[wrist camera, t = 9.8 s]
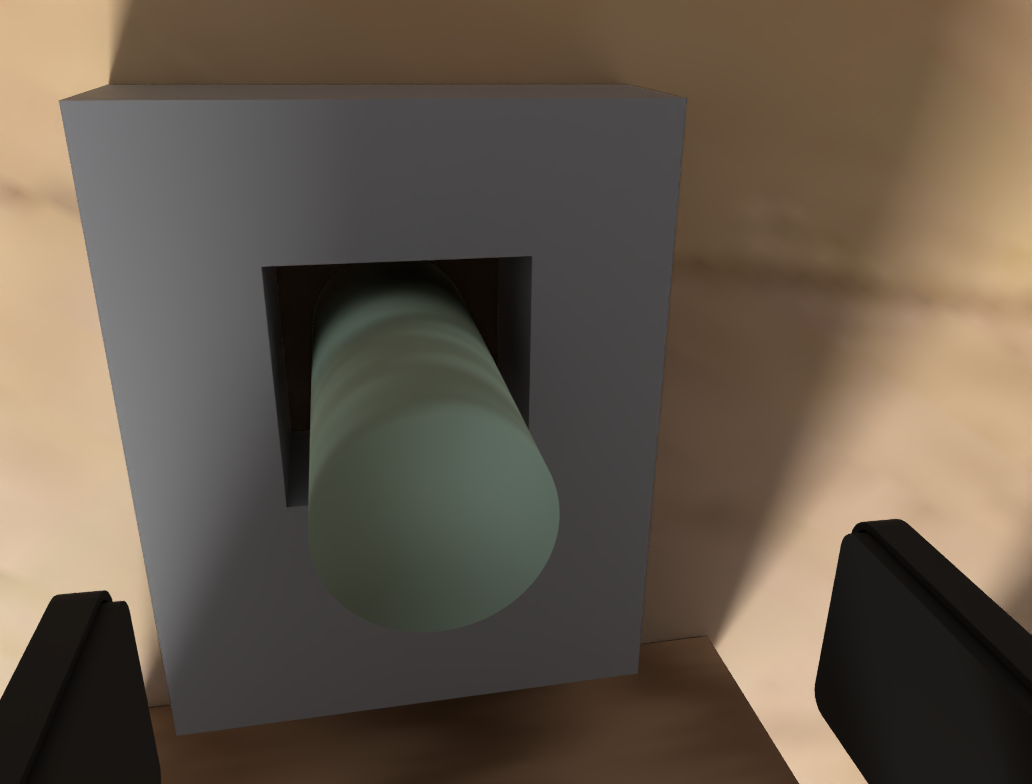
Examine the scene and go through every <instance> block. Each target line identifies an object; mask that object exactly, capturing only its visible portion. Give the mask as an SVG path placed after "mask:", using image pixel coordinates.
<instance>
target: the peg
mask: <svg viewBox="0 0 1032 784" xmlns="http://www.w3.org/2000/svg"><path fill="white" fill-rule="evenodd" d="M559 519H560V511H559V500H558V494H557V489H556V487H555V484H554V481H553V478H552V476H551V474H550V472H549V470H548V468H547V466H546V464H545V462H544V460H543V458H542V456H541V454H540V452H539V450H538V448H537V446H536V444H535V442H534V440H533V438H532V436H531V434H530V432H529V430H528V428H527V426H526V424H525V422H524V420H523V418H522V416H521V414H520V412H519V410H518V408H517V406H516V404H515V402H514V400H513V398H512V396H511V394H510V392H509V390H508V388H507V386H506V384H505V382H504V380H503V378H502V376H501V374H500V372H499V370H498V368H497V366H496V364H495V362H494V360H493V358H492V356H491V354H490V352H489V350H488V348H487V346H486V344H485V342H484V340H483V338H482V336H481V334H480V332H479V330H478V328H477V326H476V324H475V322H474V320H473V318H472V316H471V314H470V312H469V310H468V308H467V306H466V304H465V302H464V300H463V298H462V296H461V294H460V293H459V291H458V289H457V287H456V286H455V284H454V283H453V281H452V280H451V279H450V278H449V277H448V276H447V274H446V273H445V272H444V271H442V270H441V269H440V268H439V267H437V266H436V265H434V264H433V263H431V262H429V261H428V260H420V261H395V262H369V263H348V264H347V265H345V266H344V267H343V268H341V269H340V270H339V271H338V272H337V273H335V274H334V275H333V276H332V277H331V279H330V280H329V281H328V282H327V284H326V285H325V287H324V288H323V290H322V292H321V293H320V296H319V298H318V300H317V303H316V306H315V310H314V316H313V335H312V376H311V417H310V458H309V499H308V545H309V550H310V556H311V559H312V562H313V565H314V568H315V570H316V572H317V574H318V576H319V578H320V580H321V582H322V583H323V584H324V586H325V587H326V588H327V590H328V591H329V593H330V594H331V595H332V596H333V597H334V598H335V599H336V600H337V601H338V602H339V603H340V604H341V605H343V606H344V607H345V608H347V609H348V610H349V611H351V612H352V613H354V614H355V615H357V616H359V617H361V618H363V619H364V620H366V621H369V622H371V623H374V624H376V625H379V626H382V627H386V628H390V629H393V630H399V631H406V632H422V633H426V632H440V631H446V630H452V629H457V628H460V627H464V626H467V625H471V624H473V623H476V622H478V621H481V620H483V619H486V618H487V617H489V616H491V615H493V614H495V613H497V612H499V611H500V610H502V609H503V608H505V607H506V606H508V605H509V604H511V603H512V602H513V601H514V600H516V599H517V598H518V597H519V596H520V595H522V594H523V593H524V592H525V591H526V590H527V589H528V587H529V586H530V585H531V584H532V583H533V582H534V581H535V579H536V578H537V577H538V575H539V574H540V573H541V571H542V570H543V568H544V566H545V565H546V563H547V561H548V559H549V557H550V555H551V552H552V550H553V548H554V545H555V541H556V538H557V534H558V528H559Z"/></svg>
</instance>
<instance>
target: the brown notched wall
mask: <svg viewBox="0 0 1032 784" xmlns="http://www.w3.org/2000/svg"><path fill="white" fill-rule="evenodd" d="M149 712H150V717H151V722H152V727H153V732H154V737H155V742H156V747H157V752H158V757H159V762H160V769H161V784H799V783H798V781H797V780H796V778H795V776H794V775H793V773H792V772H791V770H790V768H789V767H788V765H787V763H786V762H785V760H784V759H783V757H782V755H781V754H780V752H779V751H778V749H777V747H776V746H775V744H774V743H773V741H772V739H771V738H770V736H769V734H768V733H767V731H766V730H765V728H764V726H763V725H762V723H761V722H760V720H759V718H758V717H757V715H756V714H755V712H754V710H753V709H752V707H751V705H750V704H749V702H748V701H747V699H746V697H745V696H744V694H743V693H742V691H741V689H740V688H739V686H738V685H737V683H736V681H735V680H734V678H733V677H732V675H731V673H730V672H729V670H728V668H727V667H726V665H725V664H724V662H723V660H722V659H721V657H720V656H719V654H718V652H717V651H716V649H715V648H714V646H713V644H712V643H711V641H710V639H709V638H708V636H703V637H696V638H688V639H680V640H672V641H665V642H657V643H649V644H641V645H640V652H639V664H638V674H630V675H623V676H615V677H608V678H601V679H593V680H586V681H579V682H571V683H564V684H556V685H549V686H542V687H534V688H527V689H519V690H512V691H505V692H497V693H490V694H483V695H475V696H468V697H460V698H453V699H446V700H438V701H431V702H423V703H416V704H409V705H401V706H394V707H387V708H379V709H372V710H364V711H357V712H350V713H342V714H335V715H328V716H320V717H313V718H305V719H298V720H291V721H283V722H276V723H268V724H261V725H254V726H246V727H239V728H232V729H224V730H217V731H209V732H202V733H195V734H187V735H180V736H177V735H176V730H175V725H174V719H173V714H172V708H171V705H168V706H160V707H153V708H149Z"/></svg>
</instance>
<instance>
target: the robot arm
mask: <svg viewBox="0 0 1032 784" xmlns="http://www.w3.org/2000/svg"><path fill="white" fill-rule="evenodd" d="M815 698H816V703H817V706H818V709H819V711H820V713H821V715H822V716H823V718H824V719H825V721H826V722H827V724H828V725H829V727H830V728H831V729H832V731H833V732H834V734H835V735H836V737H837V738H838V740H839V741H840V743H841V744H842V746H843V747H844V749H845V750H846V752H847V753H848V754H849V756H850V757H851V759H852V760H853V762H854V763H855V765H856V766H857V768H858V769H859V771H860V772H861V774H862V775H863V777H864V778H865V779H866V781H867V782H868V784H1032V635H1031V634H1029V633H1028V632H1027V631H1026V630H1025V629H1024V628H1023V627H1022V626H1021V625H1020V624H1018V623H1017V622H1016V621H1015V620H1014V619H1013V618H1012V617H1011V616H1010V615H1008V614H1007V613H1006V612H1005V611H1004V610H1003V609H1002V608H1001V607H1000V606H998V605H997V604H996V603H995V602H994V601H993V600H992V599H991V598H990V597H988V596H987V595H986V594H985V593H984V592H983V591H982V590H981V589H980V588H979V587H977V586H976V585H975V584H974V583H973V582H972V581H971V580H970V579H969V578H967V577H966V576H965V575H964V574H963V573H962V572H961V571H960V570H959V569H957V568H956V567H955V566H954V565H953V564H952V563H951V562H950V561H949V560H948V559H946V558H945V557H944V556H943V555H942V554H941V553H940V552H939V551H938V550H936V549H935V548H934V547H933V546H932V545H931V544H930V543H929V542H928V541H926V540H925V539H924V538H923V537H922V536H921V535H920V534H919V533H918V532H917V531H915V530H914V529H913V528H912V527H911V526H910V525H909V524H908V523H906V522H905V521H903V520H900V519H890V520H879V521H868V522H860V523H858V524H856V526H855V527H854V528H853V530H852V533H851V534H848V535H846V536H845V537H844V538H843V540H842V543H841V548H840V553H839V559H838V564H837V570H836V575H835V580H834V586H833V591H832V596H831V602H830V607H829V612H828V618H827V623H826V628H825V634H824V639H823V644H822V650H821V655H820V660H819V666H818V671H817V676H816V682H815ZM0 784H161V769H160V762H159V757H158V752H157V747H156V742H155V737H154V732H153V727H152V722H151V717H150V712H149V707H148V702H147V697H146V692H145V687H144V681H143V676H142V671H141V666H140V661H139V656H138V651H137V646H136V641H135V636H134V631H133V626H132V621H131V616H130V611H129V607H128V605H127V603H126V602H125V601H117V602H113V601H112V598H111V596H110V594H109V592H107V591H105V590H104V591H93V592H82V593H71V594H60V595H56V596H54V597H53V598H52V600H51V601H50V603H49V605H48V607H47V608H46V610H45V612H44V614H43V616H42V618H41V620H40V622H39V624H38V626H37V628H36V630H35V632H34V634H33V636H32V638H31V640H30V642H29V644H28V646H27V648H26V650H25V652H24V654H23V656H22V658H21V660H20V662H19V664H18V666H17V668H16V670H15V672H14V674H13V676H12V678H11V680H10V681H9V683H8V685H7V687H6V689H5V691H4V693H3V695H2V697H1V699H0Z"/></svg>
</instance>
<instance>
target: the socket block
mask: <svg viewBox="0 0 1032 784" xmlns="http://www.w3.org/2000/svg"><path fill="white" fill-rule="evenodd" d="M59 103H60V109H61V114H62V120H63V125H64V130H65V136H66V141H67V147H68V152H69V157H70V163H71V168H72V174H73V179H74V184H75V190H76V195H77V201H78V206H79V211H80V217H81V222H82V228H83V233H84V239H85V244H86V249H87V255H88V260H89V266H90V271H91V276H92V282H93V287H94V293H95V298H96V303H97V309H98V314H99V320H100V325H101V330H102V336H103V341H104V347H105V352H106V357H107V363H108V368H109V374H110V379H111V384H112V390H113V395H114V401H115V406H116V411H117V417H118V422H119V428H120V433H121V438H122V444H123V449H124V455H125V460H126V465H127V471H128V476H129V482H130V487H131V492H132V498H133V503H134V509H135V514H136V519H137V525H138V530H139V536H140V541H141V546H142V552H143V557H144V563H145V568H146V573H147V579H148V584H149V590H150V595H151V600H152V606H153V611H154V617H155V622H156V627H157V633H158V638H159V644H160V649H161V654H162V660H163V665H164V671H165V676H166V681H167V687H168V692H169V698H170V703H171V708H172V714H173V719H174V725H175V730H176V735H177V736H180V735H187V734H195V733H202V732H209V731H217V730H224V729H232V728H239V727H246V726H254V725H261V724H268V723H276V722H283V721H291V720H298V719H305V718H313V717H320V716H328V715H335V714H342V713H350V712H357V711H364V710H372V709H379V708H387V707H394V706H401V705H409V704H416V703H423V702H431V701H438V700H446V699H453V698H460V697H468V696H475V695H483V694H490V693H497V692H505V691H512V690H519V689H527V688H534V687H542V686H549V685H556V684H564V683H571V682H579V681H586V680H593V679H601V678H608V677H615V676H623V675H630V674H638V664H639V652H640V640H641V629H642V617H643V605H644V594H645V582H646V570H647V559H648V547H649V535H650V524H651V512H652V500H653V489H654V477H655V465H656V454H657V442H658V430H659V419H660V407H661V395H662V384H663V372H664V360H665V349H666V337H667V326H668V314H669V302H670V291H671V279H672V267H673V256H674V244H675V232H676V221H677V209H678V197H679V186H680V174H681V162H682V151H683V139H684V127H685V116H686V104H687V98H685V97H681V96H676V95H672V94H667V93H663V92H659V91H654V90H650V89H646V88H641V87H637V86H632V85H628V84H179V85H105V86H102V87H99V88H96V89H93V90H90V91H87V92H84V93H81V94H78V95H75V96H72V97H69V98H65V99H62V100H59ZM496 257H498V370H499V372H500V374H501V376H502V378H503V380H504V382H505V384H506V386H507V388H508V390H509V392H510V394H511V396H512V398H513V400H514V402H515V404H516V406H517V408H518V410H519V412H520V414H521V416H522V418H523V420H524V422H525V424H526V426H527V428H528V430H529V432H530V434H531V436H532V438H533V440H534V442H535V444H536V446H537V448H538V450H539V452H540V454H541V456H542V458H543V460H544V462H545V464H546V466H547V468H548V470H549V472H550V474H551V476H552V478H553V481H554V484H555V487H556V489H557V494H558V500H559V511H560V519H559V528H558V534H557V538H556V541H555V545H554V548H553V550H552V552H551V555H550V557H549V559H548V561H547V563H546V565H545V566H544V568H543V570H542V571H541V573H540V574H539V575H538V577H537V578H536V579H535V581H534V582H533V583H532V584H531V585H530V586H529V587H528V589H527V590H526V591H525V592H524V593H523V594H522V595H520V596H519V597H518V598H517V599H516V600H514V601H513V602H512V603H511V604H509V605H508V606H506V607H505V608H503V609H502V610H500V611H499V612H497V613H495V614H493V615H491V616H489V617H487V618H486V619H483V620H481V621H478V622H476V623H473V624H471V625H467V626H464V627H460V628H457V629H452V630H446V631H440V632H426V633H422V632H406V631H399V630H393V629H390V628H386V627H382V626H379V625H376V624H374V623H371V622H369V621H366V620H364V619H363V618H361V617H359V616H357V615H355V614H354V613H352V612H351V611H349V610H348V609H347V608H345V607H344V606H343V605H341V604H340V603H339V602H338V601H337V600H336V599H335V598H334V597H333V596H332V595H331V594H330V593H329V591H328V590H327V588H326V587H325V586H324V584H323V583H322V582H321V580H320V578H319V576H318V574H317V572H316V570H315V568H314V565H313V562H312V559H311V556H310V550H309V545H308V499H309V458H310V430H307V431H293V432H292V428H291V417H290V407H289V397H288V387H287V377H286V367H285V357H284V346H283V336H282V326H281V316H280V306H279V296H278V286H277V276H276V266H293V265H318V264H344V263H369V262H395V261H420V260H445V259H471V258H496Z"/></svg>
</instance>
